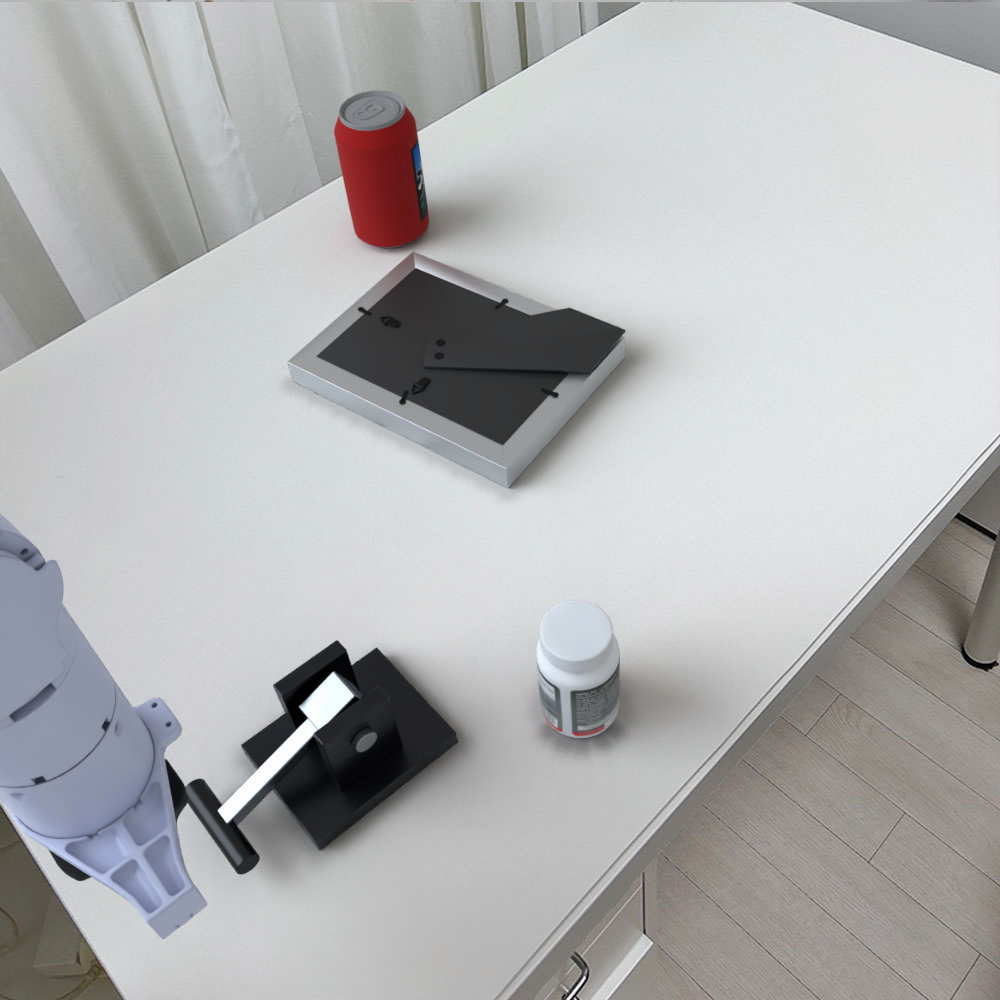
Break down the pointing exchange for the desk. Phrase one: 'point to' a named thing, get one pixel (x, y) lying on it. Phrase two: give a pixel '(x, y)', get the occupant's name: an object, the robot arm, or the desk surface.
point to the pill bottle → (578, 669)
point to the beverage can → (382, 169)
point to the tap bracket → (351, 742)
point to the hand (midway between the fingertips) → (155, 857)
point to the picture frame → (460, 365)
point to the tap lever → (267, 774)
